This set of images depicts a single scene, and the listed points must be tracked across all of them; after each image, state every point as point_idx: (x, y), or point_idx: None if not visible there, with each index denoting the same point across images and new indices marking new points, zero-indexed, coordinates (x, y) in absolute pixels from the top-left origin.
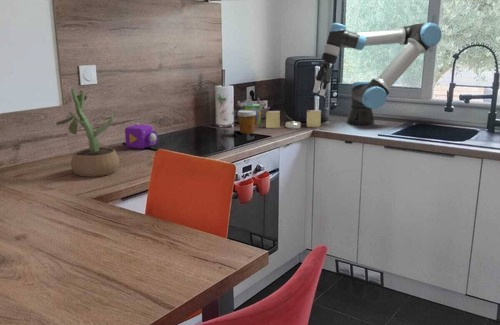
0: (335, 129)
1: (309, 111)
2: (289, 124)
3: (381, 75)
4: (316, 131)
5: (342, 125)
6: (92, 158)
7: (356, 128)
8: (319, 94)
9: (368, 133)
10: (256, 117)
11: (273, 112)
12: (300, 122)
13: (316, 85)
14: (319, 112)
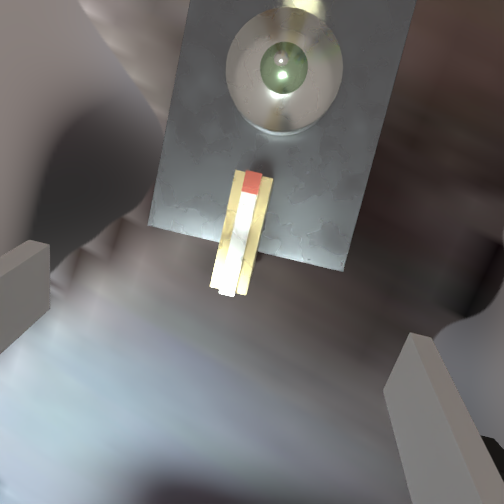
0: (185, 340)
1: (242, 189)
2: (249, 22)
3: None
4: None
5: (288, 445)
6: None
7: (173, 466)
8: (24, 243)
9: (24, 444)
10: None
11: None
12: (275, 129)
13: (435, 442)
14: (214, 273)
